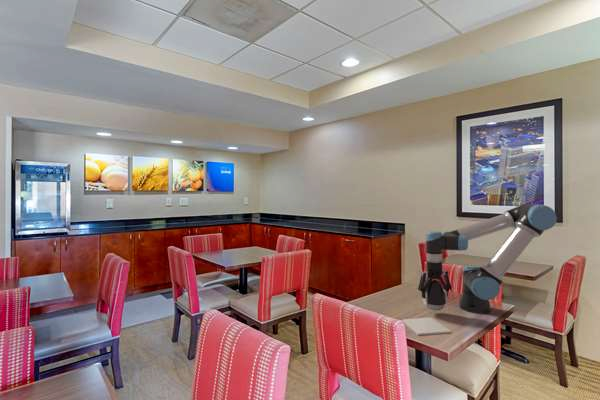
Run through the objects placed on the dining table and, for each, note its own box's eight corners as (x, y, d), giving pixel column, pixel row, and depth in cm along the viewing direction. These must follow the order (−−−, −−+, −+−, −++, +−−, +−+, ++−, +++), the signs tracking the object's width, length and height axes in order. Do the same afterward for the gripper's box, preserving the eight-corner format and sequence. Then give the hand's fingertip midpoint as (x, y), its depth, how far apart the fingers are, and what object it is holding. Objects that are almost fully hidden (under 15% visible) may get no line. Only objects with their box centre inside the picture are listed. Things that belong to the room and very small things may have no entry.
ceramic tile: (431, 319, 160) (431, 317, 160) (450, 332, 144) (450, 331, 144) (401, 321, 158) (401, 319, 158) (417, 335, 142) (417, 333, 142)
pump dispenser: (427, 304, 174) (427, 276, 173) (448, 307, 167) (447, 279, 167) (421, 309, 166) (421, 280, 165) (442, 313, 159) (442, 283, 159)
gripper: (450, 258, 171) (450, 299, 171) (410, 260, 168) (411, 302, 168) (458, 261, 164) (459, 304, 164) (417, 263, 161) (418, 307, 161)
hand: (435, 303), depth 166 cm, fingers closed on pump dispenser, 10 cm apart
